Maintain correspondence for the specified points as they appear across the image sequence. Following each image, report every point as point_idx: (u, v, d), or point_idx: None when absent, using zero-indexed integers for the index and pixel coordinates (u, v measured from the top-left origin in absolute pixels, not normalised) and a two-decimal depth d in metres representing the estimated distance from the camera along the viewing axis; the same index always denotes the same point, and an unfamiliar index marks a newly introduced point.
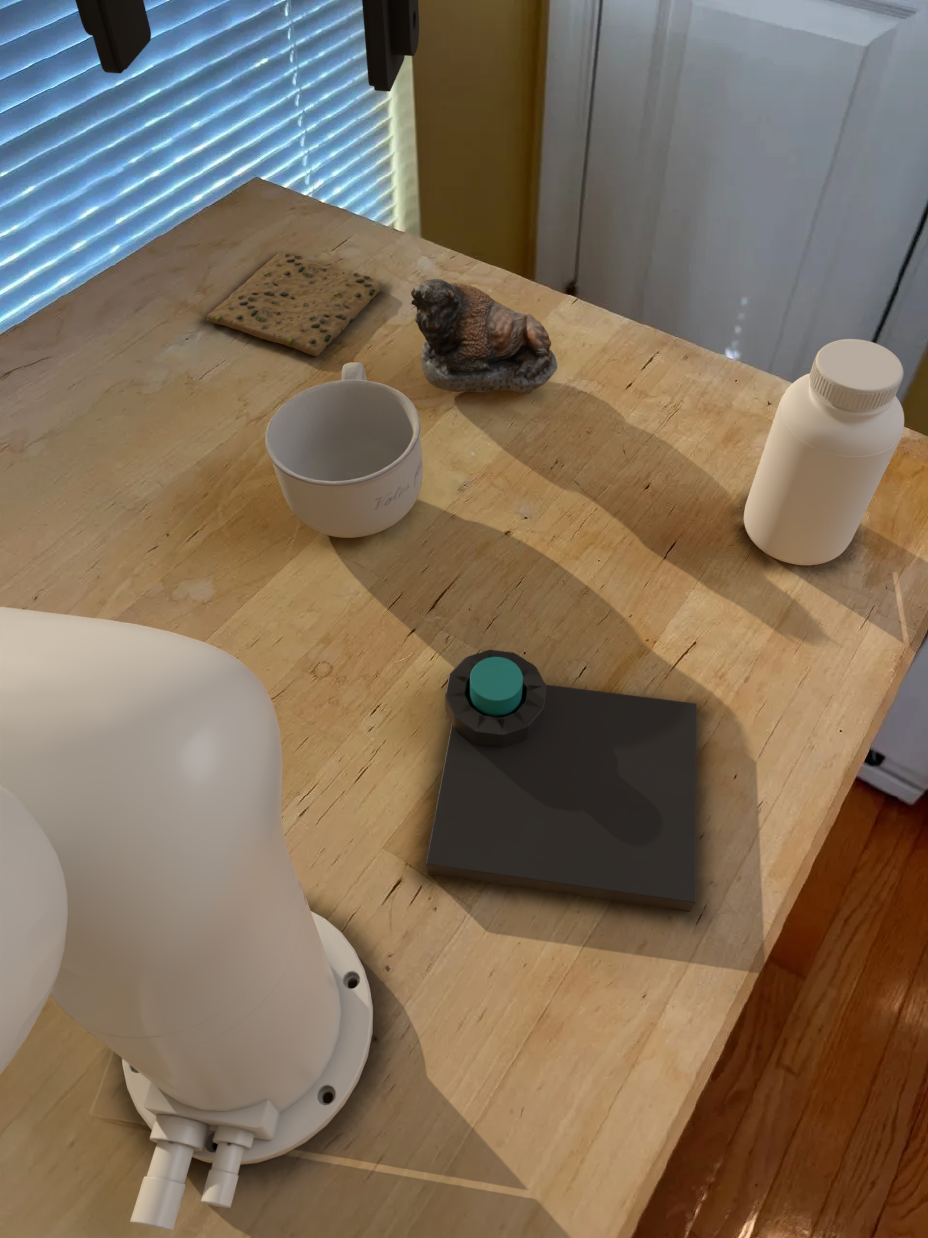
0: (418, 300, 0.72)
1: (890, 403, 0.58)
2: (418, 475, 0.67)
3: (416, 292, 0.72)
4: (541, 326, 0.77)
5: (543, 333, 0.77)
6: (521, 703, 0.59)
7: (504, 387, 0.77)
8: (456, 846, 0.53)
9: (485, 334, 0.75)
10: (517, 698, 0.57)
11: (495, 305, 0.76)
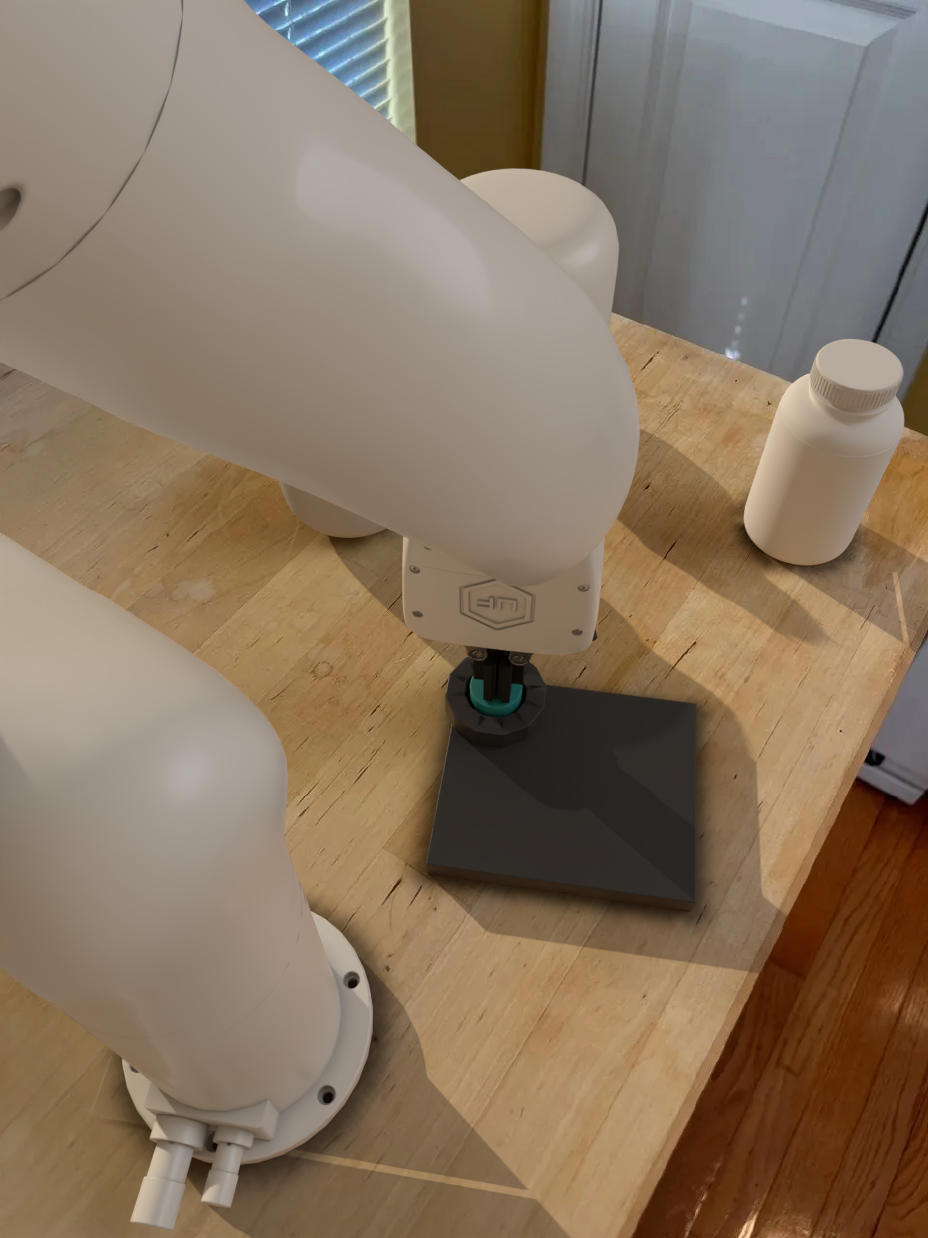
0: None
1: (890, 403, 0.58)
2: None
3: None
4: None
5: None
6: (521, 703, 0.59)
7: None
8: (456, 846, 0.53)
9: None
10: (516, 706, 0.57)
11: None
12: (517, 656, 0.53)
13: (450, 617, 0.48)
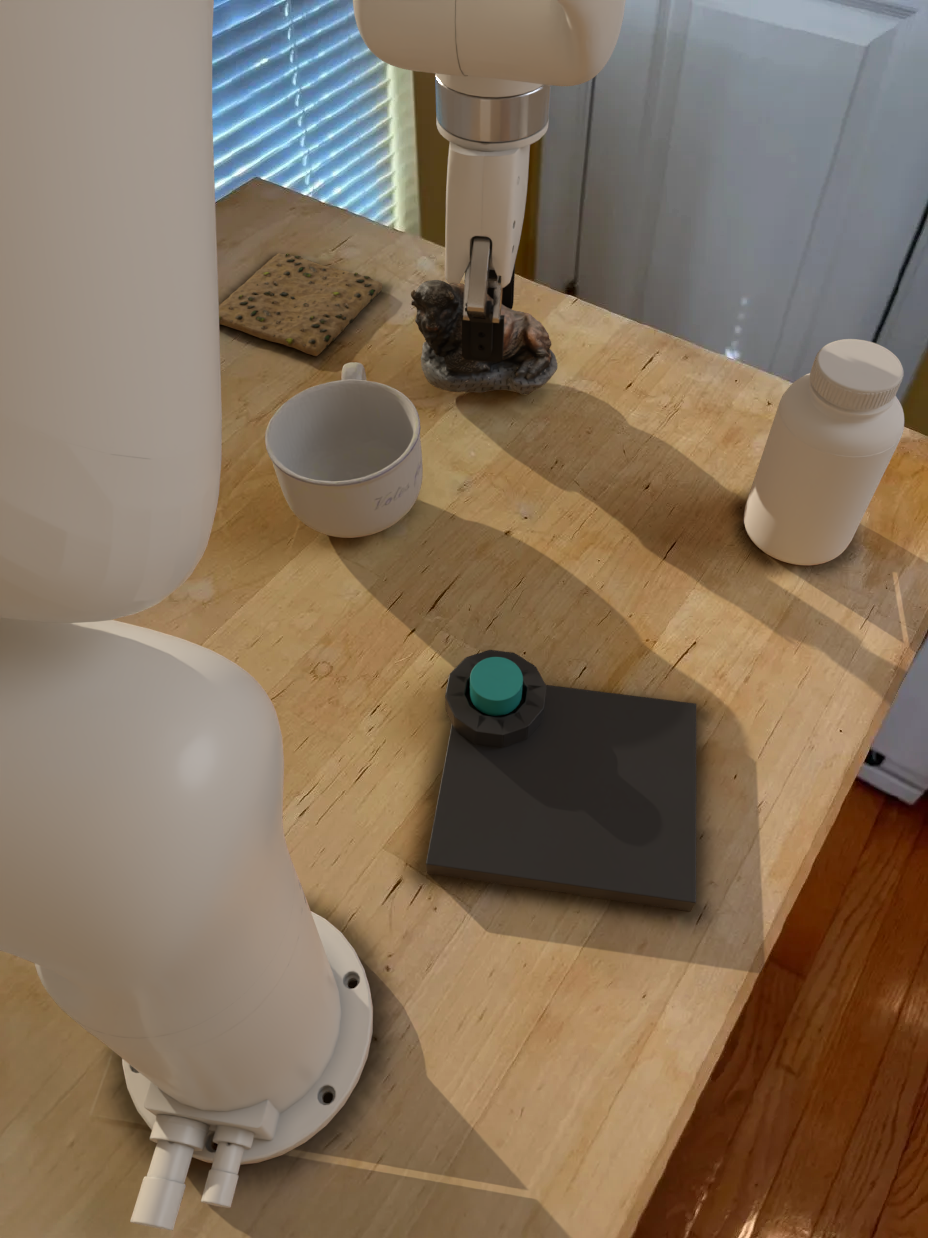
0: (418, 301, 0.72)
1: (890, 403, 0.58)
2: (418, 475, 0.67)
3: (416, 294, 0.72)
4: (541, 326, 0.77)
5: (543, 334, 0.77)
6: (521, 703, 0.59)
7: (504, 388, 0.77)
8: (456, 846, 0.53)
9: None
10: (517, 698, 0.57)
11: None
12: None
13: None
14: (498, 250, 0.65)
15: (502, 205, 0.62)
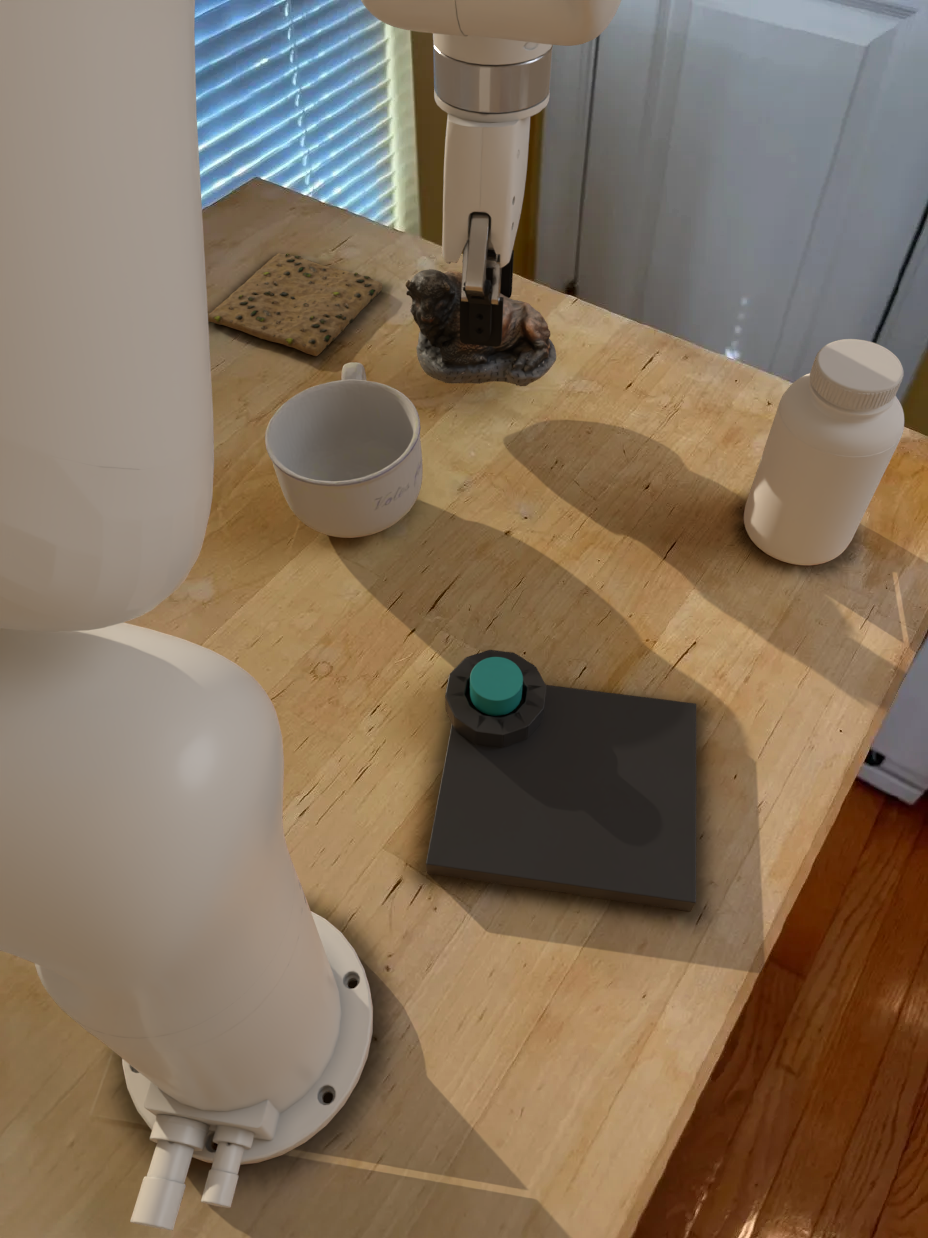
0: (413, 292, 0.70)
1: (890, 403, 0.58)
2: (418, 475, 0.67)
3: (411, 284, 0.70)
4: (540, 317, 0.75)
5: (542, 324, 0.75)
6: (521, 703, 0.59)
7: (501, 379, 0.76)
8: (456, 846, 0.53)
9: None
10: (517, 698, 0.57)
11: None
12: None
13: None
14: (497, 227, 0.63)
15: (501, 179, 0.61)
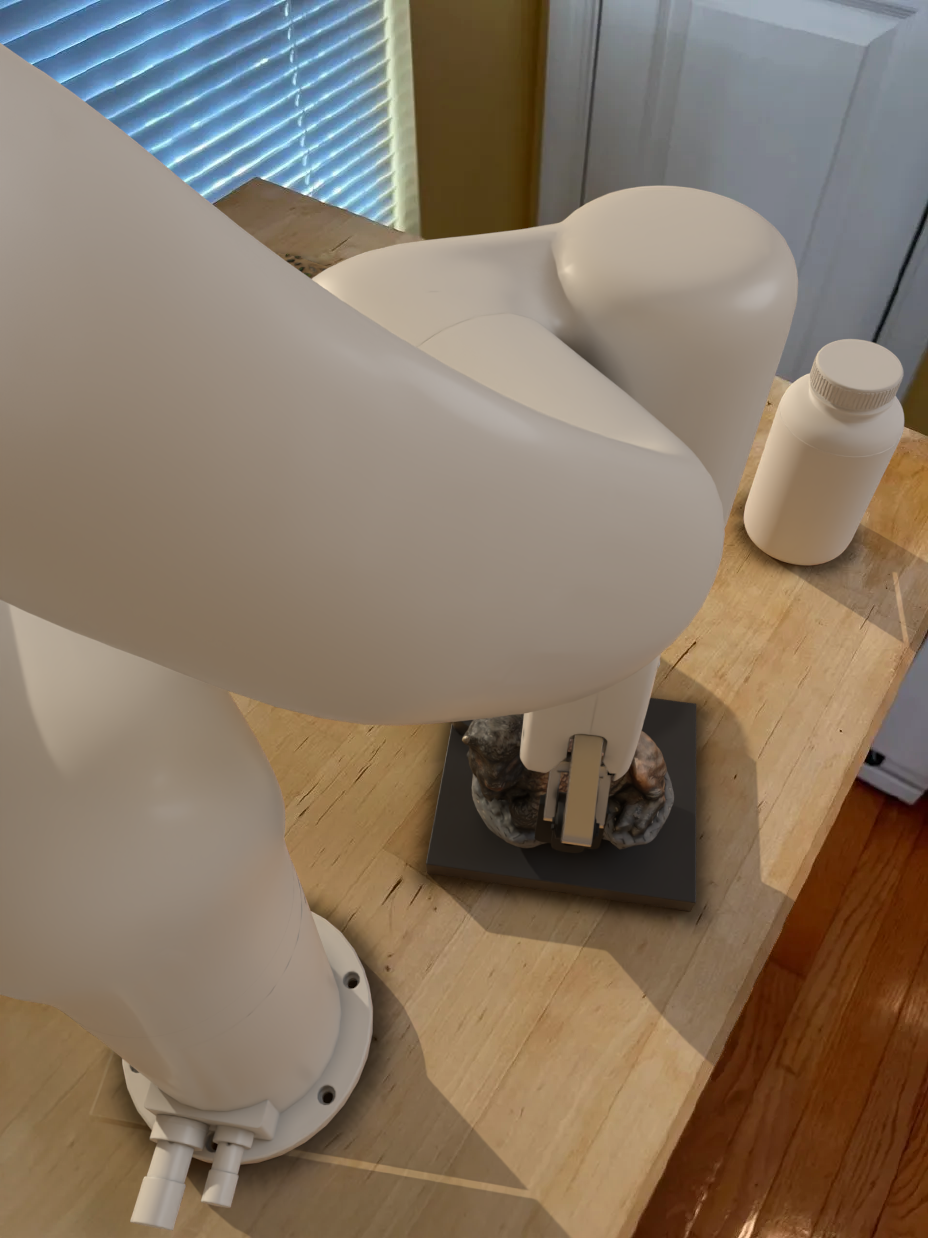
0: (473, 747, 0.47)
1: (890, 403, 0.58)
2: None
3: (471, 739, 0.46)
4: (654, 752, 0.51)
5: (657, 763, 0.51)
6: None
7: None
8: (456, 846, 0.53)
9: None
10: None
11: None
12: None
13: None
14: (616, 750, 0.39)
15: (631, 704, 0.36)
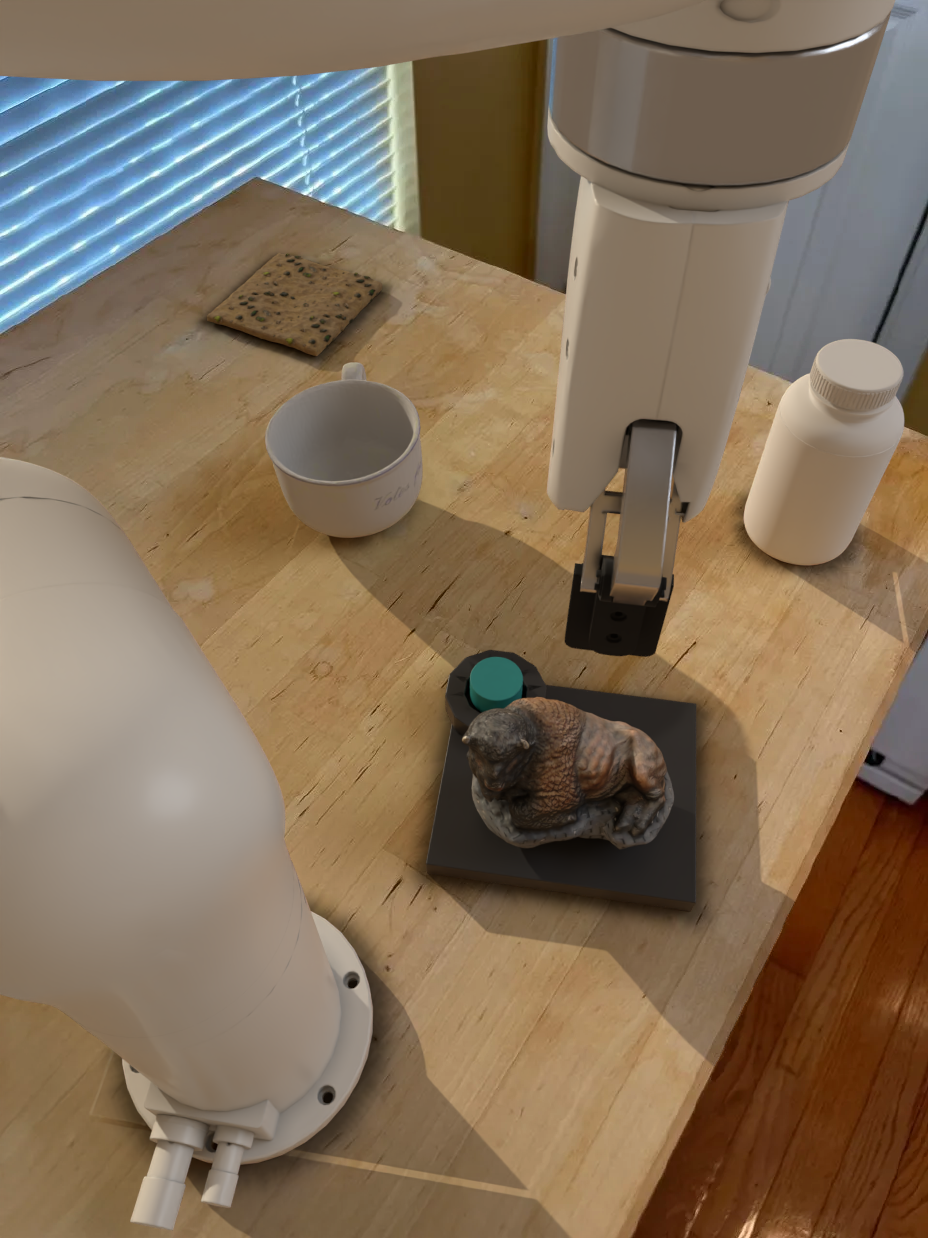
0: (473, 748, 0.47)
1: (890, 403, 0.58)
2: (418, 475, 0.67)
3: (470, 740, 0.46)
4: (654, 752, 0.51)
5: (657, 763, 0.51)
6: None
7: (596, 837, 0.52)
8: (456, 846, 0.53)
9: (572, 778, 0.49)
10: (517, 698, 0.57)
11: (587, 728, 0.50)
12: None
13: None
14: (695, 451, 0.26)
15: (725, 350, 0.23)
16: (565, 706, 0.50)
